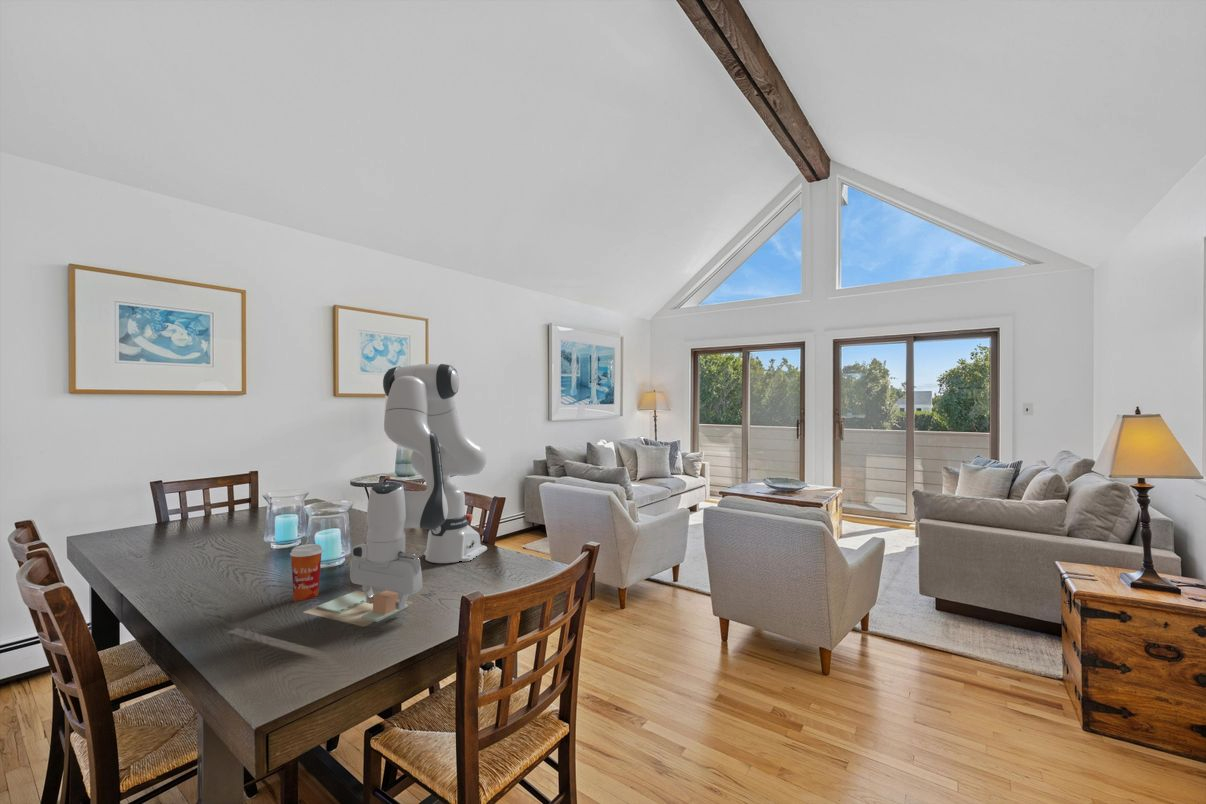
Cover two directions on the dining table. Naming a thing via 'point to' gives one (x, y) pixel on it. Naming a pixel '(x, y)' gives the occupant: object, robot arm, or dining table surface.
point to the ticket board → (346, 609)
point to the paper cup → (306, 570)
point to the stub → (383, 606)
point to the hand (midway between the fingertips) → (385, 605)
